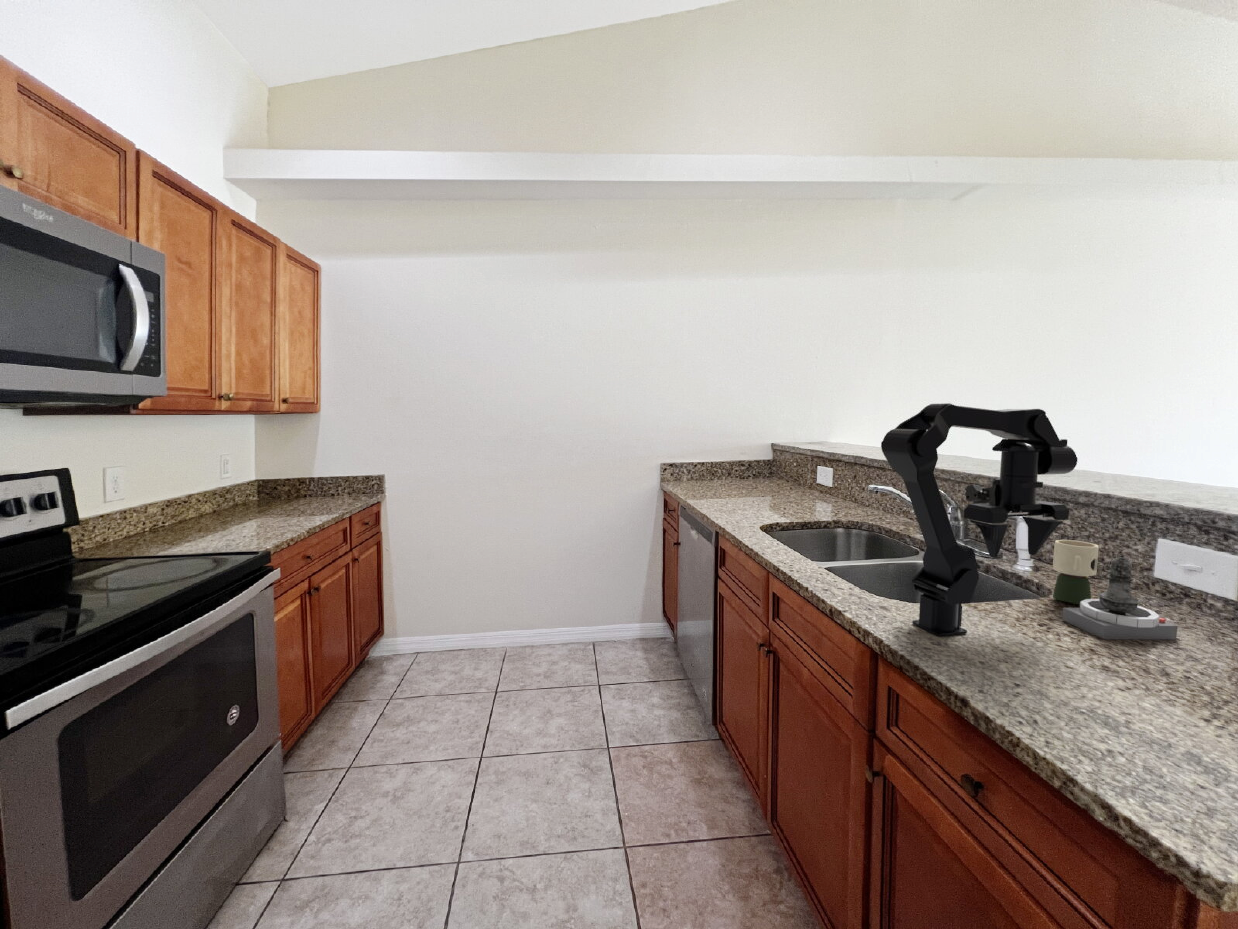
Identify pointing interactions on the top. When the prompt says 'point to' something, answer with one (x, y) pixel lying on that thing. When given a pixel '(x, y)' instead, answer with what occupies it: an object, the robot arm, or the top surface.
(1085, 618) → the faceted bowl on plate
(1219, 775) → the top surface
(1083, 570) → the character mug
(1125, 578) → the grey stone finial
